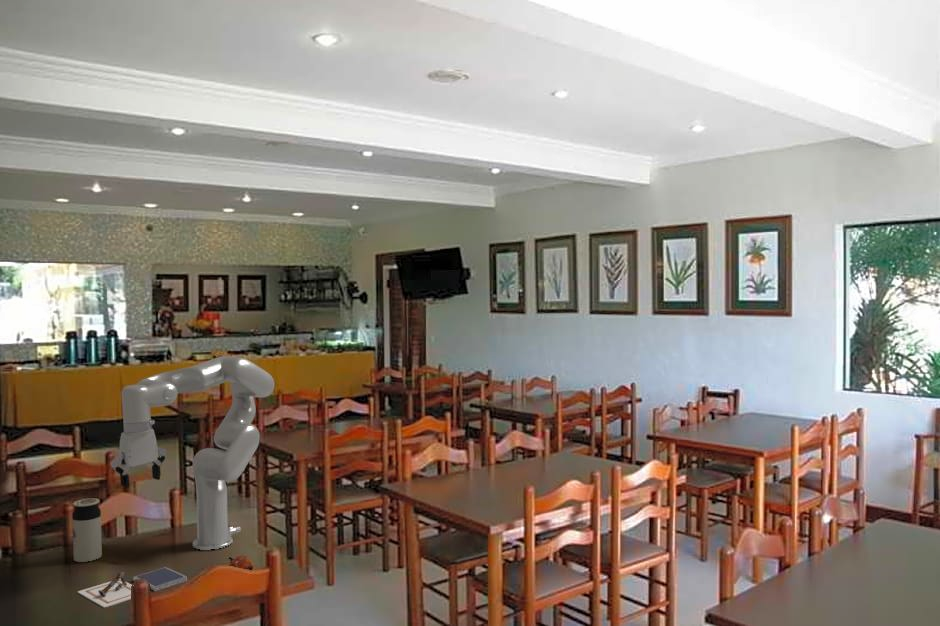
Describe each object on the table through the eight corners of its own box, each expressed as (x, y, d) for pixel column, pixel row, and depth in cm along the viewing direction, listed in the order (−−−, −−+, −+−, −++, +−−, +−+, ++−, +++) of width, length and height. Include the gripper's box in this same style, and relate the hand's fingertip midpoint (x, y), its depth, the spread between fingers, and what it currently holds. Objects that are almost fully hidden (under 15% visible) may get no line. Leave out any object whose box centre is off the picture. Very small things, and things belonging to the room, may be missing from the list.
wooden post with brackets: (130, 582, 222) (124, 570, 221) (108, 603, 216) (102, 591, 214) (126, 581, 223) (120, 569, 221) (104, 602, 217) (97, 590, 215)
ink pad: (165, 570, 235) (165, 566, 235) (187, 580, 227) (187, 575, 227) (133, 580, 227) (133, 576, 227) (154, 591, 220) (154, 586, 219)
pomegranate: (257, 584, 230) (238, 559, 234) (265, 569, 226) (245, 543, 230) (236, 595, 224) (217, 569, 228) (243, 580, 220) (224, 553, 224)
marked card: (119, 579, 228) (119, 578, 228) (147, 593, 218) (147, 592, 218) (77, 592, 219) (77, 591, 219) (104, 607, 209) (104, 606, 209)
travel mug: (103, 552, 251) (101, 496, 250) (100, 561, 243) (98, 503, 242) (75, 555, 248) (74, 499, 248) (71, 564, 241) (70, 506, 240)
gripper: (158, 419, 243) (161, 474, 244) (102, 431, 229) (106, 488, 231) (171, 422, 238) (174, 477, 239) (115, 434, 224) (119, 492, 226)
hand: (141, 482), depth 235 cm, fingers open, 9 cm apart
